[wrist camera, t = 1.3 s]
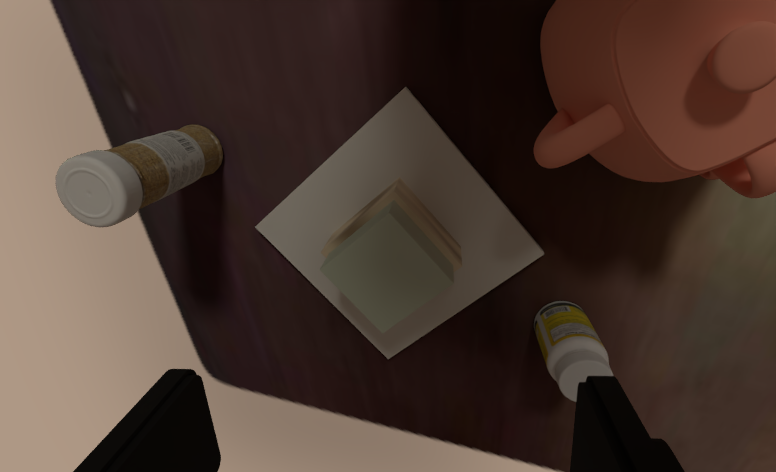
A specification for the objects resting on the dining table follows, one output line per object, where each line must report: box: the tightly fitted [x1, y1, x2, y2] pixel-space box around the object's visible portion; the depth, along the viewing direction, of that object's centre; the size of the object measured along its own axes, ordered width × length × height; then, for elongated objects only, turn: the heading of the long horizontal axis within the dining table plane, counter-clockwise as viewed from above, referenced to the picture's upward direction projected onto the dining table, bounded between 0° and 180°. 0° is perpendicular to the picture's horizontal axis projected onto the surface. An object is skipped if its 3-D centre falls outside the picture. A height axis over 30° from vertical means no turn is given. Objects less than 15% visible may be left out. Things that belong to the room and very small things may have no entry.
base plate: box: [256, 87, 544, 359], centre depth 40 cm, size 18×18×1 cm
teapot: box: [533, 0, 776, 198], centre depth 26 cm, size 16×17×14 cm
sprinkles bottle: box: [56, 125, 223, 227], centre depth 33 cm, size 5×5×14 cm
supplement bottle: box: [534, 301, 613, 402], centre depth 37 cm, size 5×5×8 cm
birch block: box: [321, 177, 462, 272], centre depth 37 cm, size 8×8×4 cm
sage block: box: [320, 200, 454, 333], centre depth 34 cm, size 7×7×3 cm
